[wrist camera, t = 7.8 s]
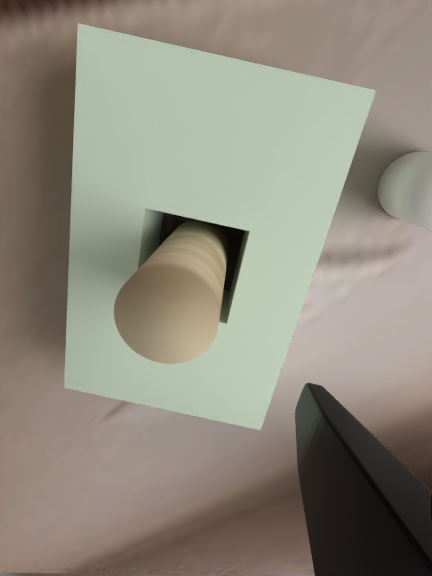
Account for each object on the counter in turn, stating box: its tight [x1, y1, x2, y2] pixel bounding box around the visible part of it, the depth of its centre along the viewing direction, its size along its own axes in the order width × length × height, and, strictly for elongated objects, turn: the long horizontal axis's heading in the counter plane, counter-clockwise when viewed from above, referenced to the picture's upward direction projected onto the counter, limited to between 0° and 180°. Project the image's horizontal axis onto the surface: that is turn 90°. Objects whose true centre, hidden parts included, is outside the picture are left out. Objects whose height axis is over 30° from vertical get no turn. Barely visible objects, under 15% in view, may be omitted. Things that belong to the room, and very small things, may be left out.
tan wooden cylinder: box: [114, 218, 229, 364], centre depth 16 cm, size 4×4×10 cm
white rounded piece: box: [378, 151, 432, 231], centre depth 16 cm, size 4×4×4 cm
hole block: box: [64, 23, 376, 430], centre depth 18 cm, size 18×12×4 cm, turn 168°
